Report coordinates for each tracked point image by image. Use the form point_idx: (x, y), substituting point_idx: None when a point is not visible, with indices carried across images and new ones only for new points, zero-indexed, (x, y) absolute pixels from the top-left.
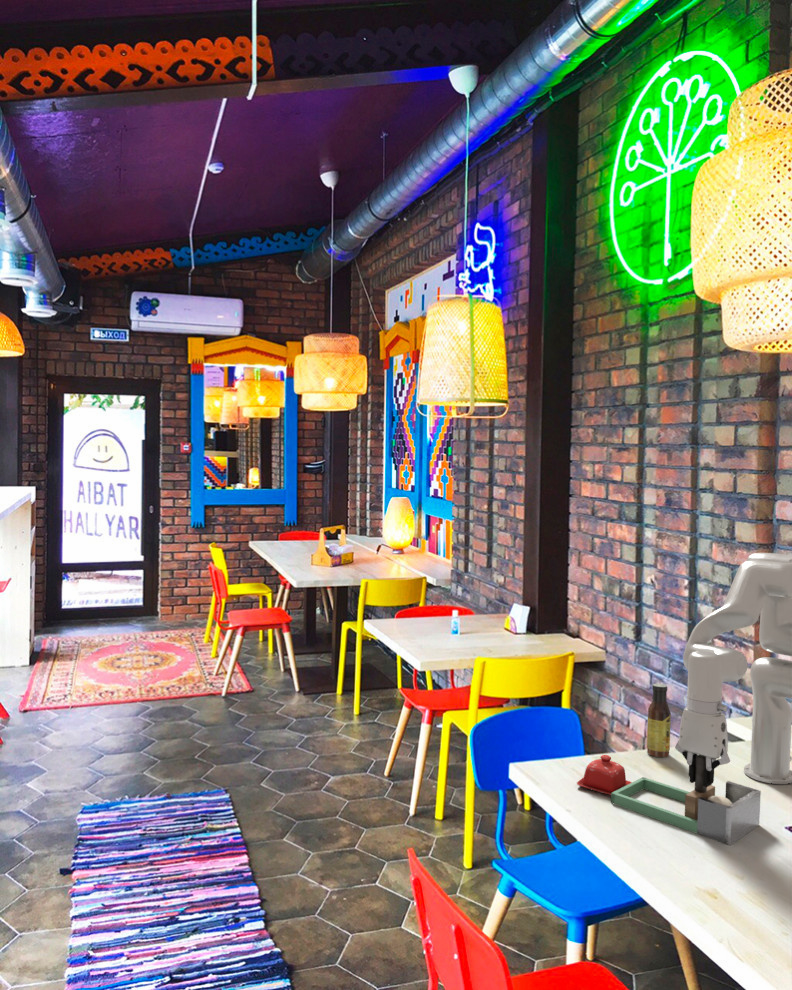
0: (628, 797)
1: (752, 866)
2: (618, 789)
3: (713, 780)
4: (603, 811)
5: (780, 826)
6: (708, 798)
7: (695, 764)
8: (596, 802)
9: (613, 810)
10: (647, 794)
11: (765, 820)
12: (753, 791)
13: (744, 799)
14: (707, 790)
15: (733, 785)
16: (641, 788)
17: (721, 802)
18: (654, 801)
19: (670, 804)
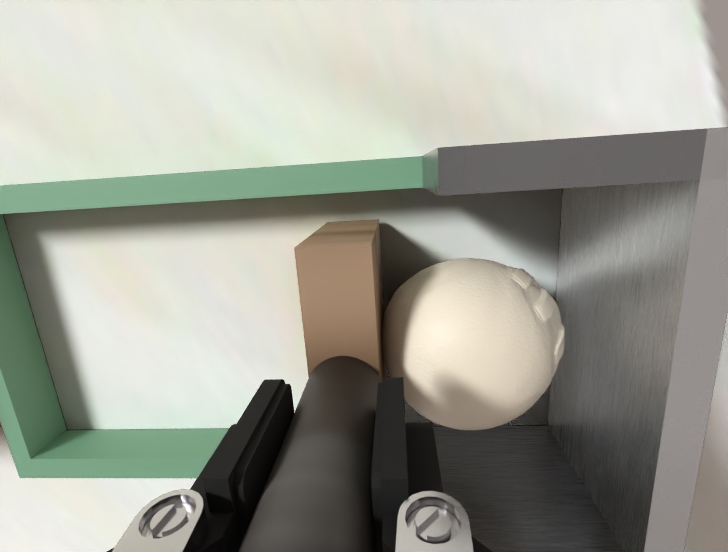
0: (89, 465)
1: (697, 530)
2: (2, 426)
3: (433, 430)
4: (103, 523)
5: (692, 62)
6: (409, 387)
7: (238, 547)
8: (31, 480)
9: (114, 493)
10: (60, 258)
11: (600, 54)
12: (707, 197)
13: (693, 410)
14: (373, 353)
15: (506, 190)
16: (1, 236)
17: (509, 413)
18: (131, 302)
19: (189, 275)
